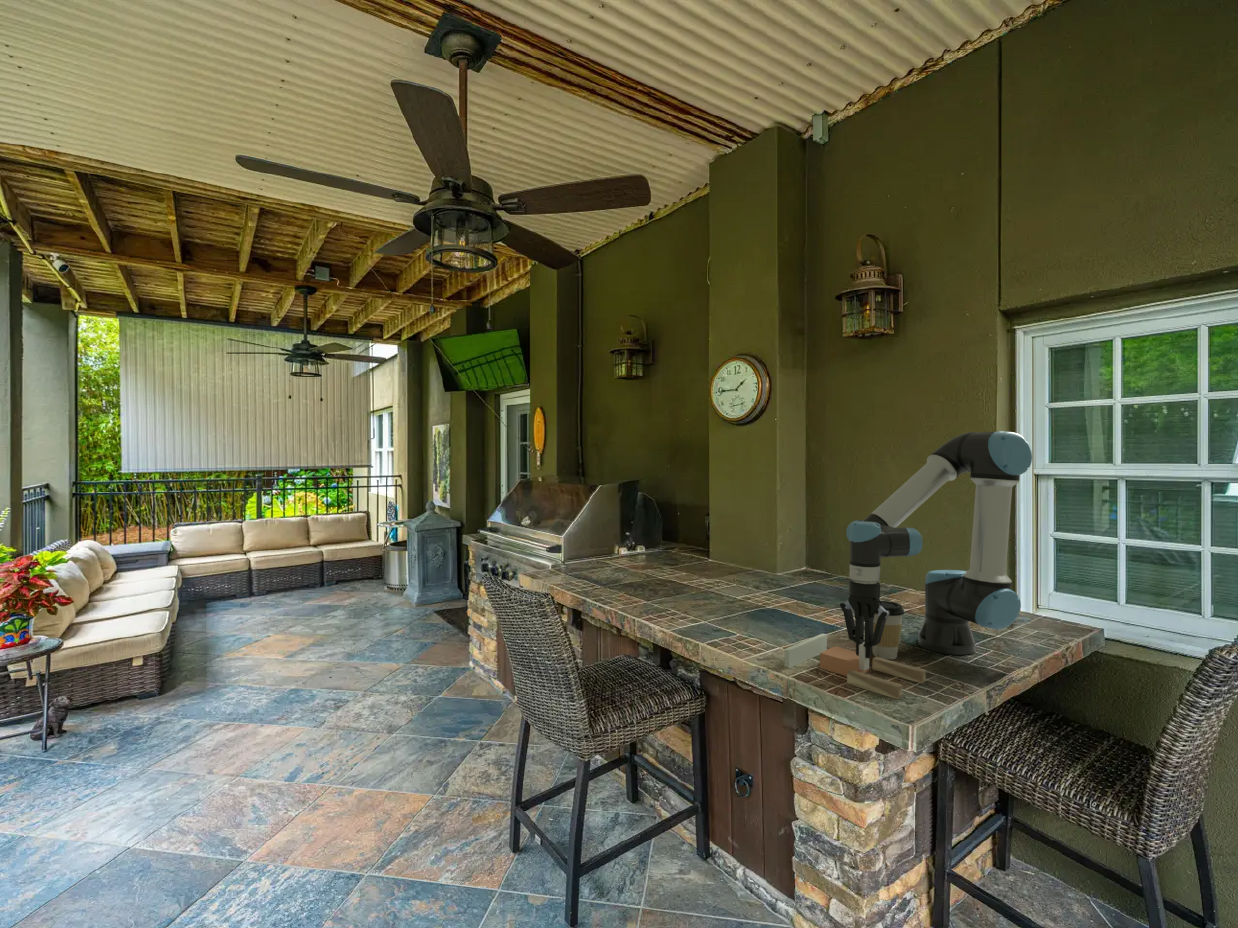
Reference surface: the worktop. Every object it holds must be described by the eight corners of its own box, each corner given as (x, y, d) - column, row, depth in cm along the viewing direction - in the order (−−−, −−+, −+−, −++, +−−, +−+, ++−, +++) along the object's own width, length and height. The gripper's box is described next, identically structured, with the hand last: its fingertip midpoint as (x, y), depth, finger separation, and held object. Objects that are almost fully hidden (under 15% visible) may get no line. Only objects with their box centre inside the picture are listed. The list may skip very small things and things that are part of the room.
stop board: (822, 649, 179) (822, 633, 179) (826, 651, 178) (826, 634, 178) (784, 666, 166) (784, 649, 166) (789, 668, 165) (789, 650, 165)
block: (834, 661, 171) (834, 646, 170) (869, 671, 163) (869, 655, 163) (820, 669, 165) (820, 652, 165) (854, 679, 158) (854, 662, 158)
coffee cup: (893, 649, 179) (893, 599, 179) (910, 661, 170) (911, 608, 169) (860, 649, 179) (861, 600, 179) (876, 662, 169) (876, 609, 169)
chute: (875, 667, 165) (876, 656, 165) (925, 681, 155) (925, 669, 155) (847, 683, 155) (847, 671, 154) (898, 699, 145) (898, 687, 145)
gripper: (834, 578, 161) (833, 665, 162) (882, 587, 151) (881, 679, 152) (848, 574, 166) (847, 658, 167) (895, 582, 156) (894, 671, 157)
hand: (863, 668), depth 159 cm, fingers closed
